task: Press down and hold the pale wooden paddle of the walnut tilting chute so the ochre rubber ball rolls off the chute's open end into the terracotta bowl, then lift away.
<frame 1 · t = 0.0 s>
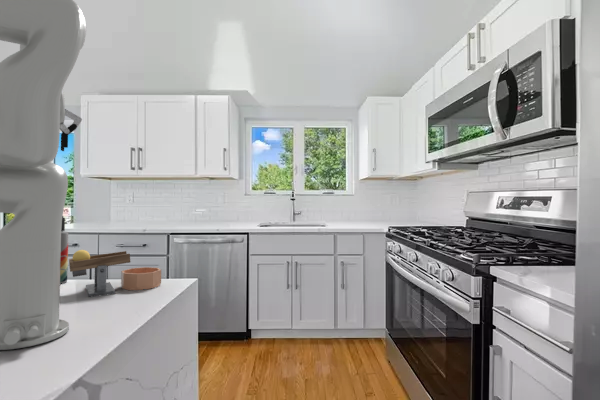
hand: (37, 148, 83), 37 cm above the counter, tool pointing down, fingers open, 9 cm apart
ball: (81, 257, 93), point 9 cm above the counter, tilted 8°, touching tilt chute
tilt chute: (98, 261, 99), point 7 cm above the counter, hinge at -5.0°, touching ball
chute stand: (99, 290, 96), on the counter
terracotta bowl: (141, 285, 102), on the counter
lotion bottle: (55, 283, 104), on the counter
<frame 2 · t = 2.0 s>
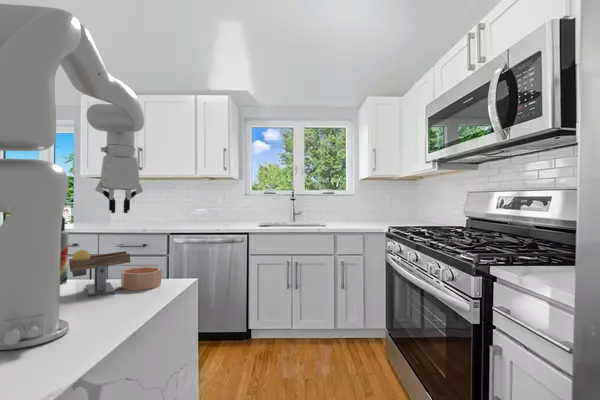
hand: (119, 212, 106), 21 cm above the counter, tool pointing down, fingers closed
nothing on the counter moved.
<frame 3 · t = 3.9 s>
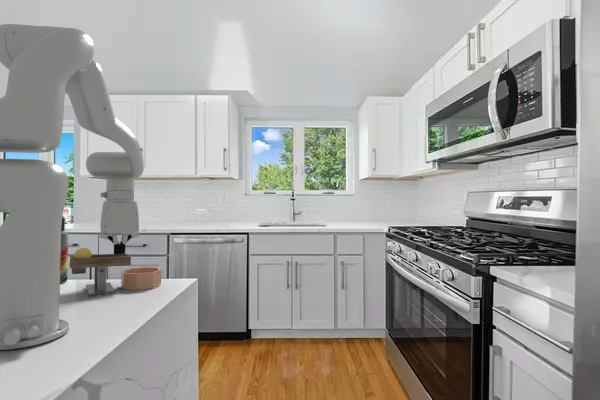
hand: (119, 256, 106), 8 cm above the counter, tool pointing down, fingers closed
ball: (82, 255, 94), point 10 cm above the counter, touching tilt chute
tilt chute: (99, 261, 99), point 7 cm above the counter, hinge at 1.8°, touching ball, gripper
everything else where it was.
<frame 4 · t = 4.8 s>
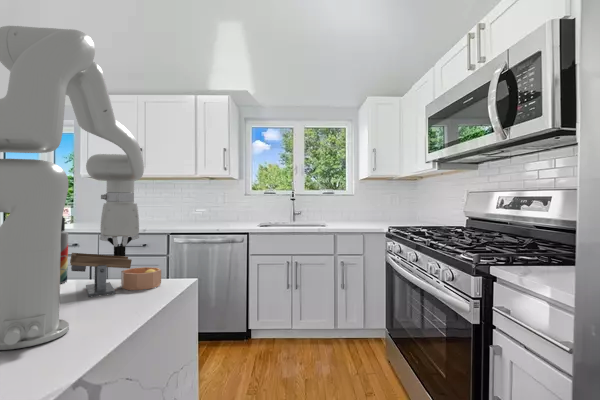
hand: (119, 258, 106), 7 cm above the counter, tool pointing down, fingers closed
ball: (150, 276, 103), point 3 cm above the counter, tilted 140°, touching terracotta bowl
tilt chute: (99, 261, 99), point 7 cm above the counter, hinge at 8.7°, touching gripper
everything else where it was.
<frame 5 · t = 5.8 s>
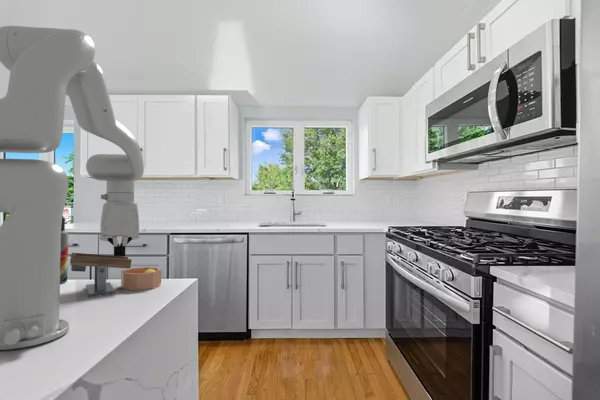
hand: (119, 258, 106), 7 cm above the counter, tool pointing down, fingers closed
nothing on the counter moved.
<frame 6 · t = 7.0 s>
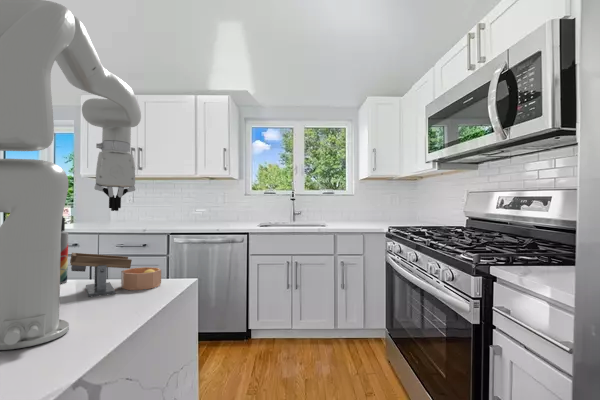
hand: (114, 210, 103), 22 cm above the counter, tool pointing down, fingers closed
tilt chute: (99, 261, 99), point 7 cm above the counter, hinge at 8.8°
everything else where it was.
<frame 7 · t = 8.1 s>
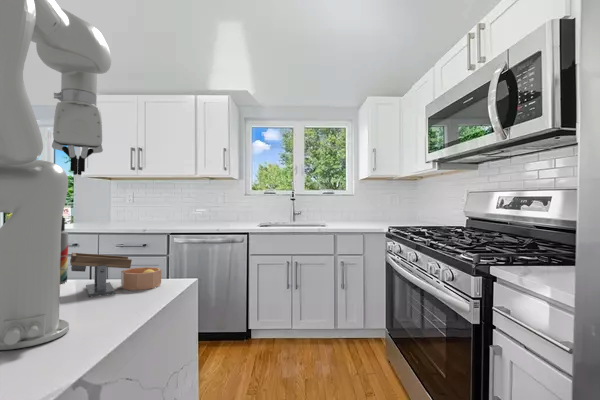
hand: (77, 174, 87), 31 cm above the counter, tool pointing down, fingers closed
nothing on the counter moved.
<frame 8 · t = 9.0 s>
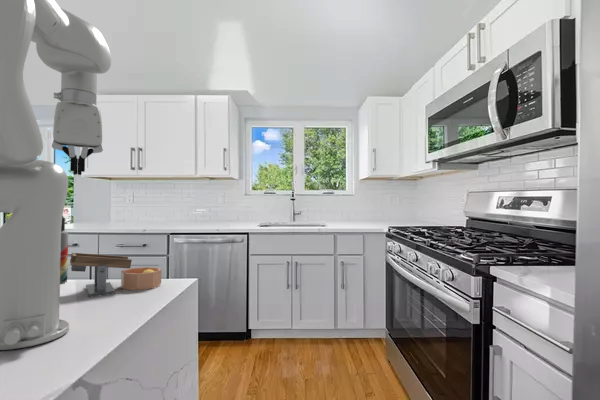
hand: (77, 174, 87), 31 cm above the counter, tool pointing down, fingers closed
nothing on the counter moved.
at the end: ball inside the target area on the terracotta bowl (1.9 cm from its centre), point 2.6 cm above the terracotta bowl's base; ball point 2.6 cm above the counter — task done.
